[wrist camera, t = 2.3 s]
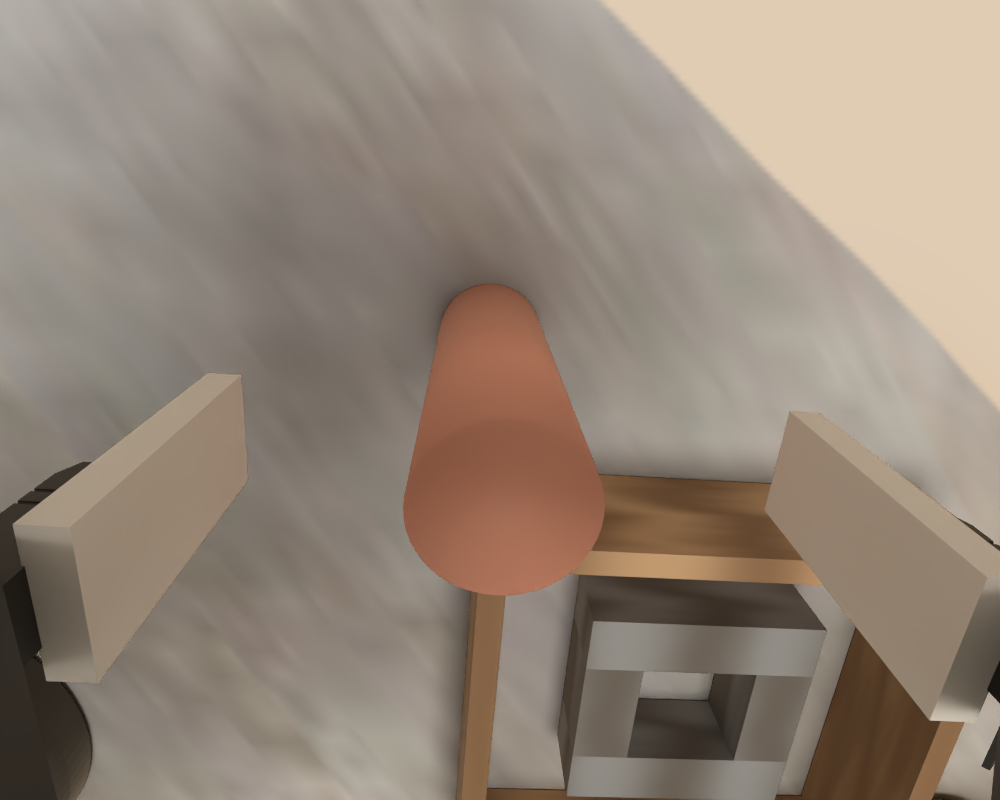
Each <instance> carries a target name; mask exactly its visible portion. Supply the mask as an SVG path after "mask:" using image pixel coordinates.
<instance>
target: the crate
mask: <svg viewBox="0 0 1000 800" xmlns="http://www.w3.org/2000/svg"><path fill="white" fill-rule="evenodd" d="M599 477H600V479H601V482H602V486H603V491H604V498H605V511H604V519H603V524H602V528H601V531H600V533H599V536H598V539H597V540H596V542H595V544H594V546H593V548H592V549H591V551H590V552H589V553H588V555H587V556H586V558H585V559H584V560H583V561H582V562H581V563H580V564H579V565H578V566H577V567H576V568H575V569H574V570H572V571H571V572H570V573H569V574H577V575H580V578H579V585H578V592H577V599H576V607H575V614H574V621H573V628H572V635H571V642H570V649H569V656H568V663H567V670H566V677H565V684H564V691H563V698H562V705H561V713H560V720H559V727H558V741H559V748H560V755H561V762H562V769H563V776H564V783H565V790H527V789H487V784H488V773H489V763H490V752H491V742H492V731H493V721H494V710H495V700H496V689H497V679H498V668H499V658H500V647H501V637H502V627H503V616H504V606H505V595H487V594H481V593H476V592H472V591H471V600H470V614H469V627H468V641H467V655H466V668H465V682H464V696H463V709H462V723H461V737H460V750H459V764H458V778H457V791H456V800H932V798H933V795H934V793H935V791H936V788H937V786H938V784H939V781H940V779H941V776H942V774H943V772H944V769H945V767H946V765H947V762H948V760H949V758H950V755H951V753H952V751H953V748H954V746H955V744H956V741H957V739H958V736H959V734H960V732H961V729H962V727H963V725H964V722H953V721H930V720H929V719H928V718H927V717H926V715H925V714H924V713H923V712H922V710H921V709H920V708H919V706H918V705H917V704H916V703H915V701H914V700H913V699H912V698H911V696H910V695H909V694H908V692H907V691H906V690H905V689H904V687H903V686H902V685H901V683H900V682H899V681H898V680H897V678H896V677H895V676H894V675H893V673H892V672H891V671H890V669H889V668H888V667H887V666H886V664H885V663H884V662H883V661H882V659H881V658H880V657H879V655H878V654H877V653H876V652H875V650H874V649H873V648H872V647H871V645H870V644H869V643H868V641H867V640H866V639H865V638H864V636H863V635H862V634H861V633H860V631H859V630H858V629H857V627H856V630H855V633H854V636H853V639H852V642H851V645H850V648H849V651H848V654H847V657H846V660H845V663H844V666H843V669H842V673H841V676H840V679H839V682H838V685H837V688H836V691H835V694H834V697H833V700H832V703H831V706H830V709H829V712H828V715H827V718H826V721H825V724H824V727H823V731H822V734H821V737H820V740H819V743H818V746H817V749H816V752H815V755H814V758H813V761H812V764H811V767H810V770H809V773H808V776H807V779H806V782H805V785H804V789H803V792H802V795H801V796H782V795H776V794H777V791H778V787H779V784H780V781H781V778H782V774H783V771H784V768H785V765H786V761H787V758H788V755H789V752H790V749H791V745H792V742H793V739H794V736H795V732H796V729H797V726H798V723H799V719H800V716H801V713H802V710H803V706H804V703H805V700H806V697H807V694H808V690H809V687H810V684H811V681H812V677H813V674H814V671H815V668H816V664H817V661H818V658H819V655H820V651H821V648H822V645H823V642H824V638H825V635H826V632H827V630H826V628H825V627H824V626H823V624H822V623H821V622H820V620H819V619H818V618H817V616H816V615H815V614H814V612H813V611H812V610H811V608H810V607H809V606H808V604H807V603H806V602H805V600H804V599H803V598H802V596H801V595H800V594H799V592H798V591H797V590H796V588H795V587H794V586H793V584H806V585H823V584H822V583H821V582H820V580H819V579H818V578H817V576H816V575H815V574H814V573H813V571H812V570H811V569H810V568H809V566H808V565H807V564H806V562H805V561H804V560H803V559H802V557H801V556H800V555H799V554H798V552H797V551H796V550H795V548H794V547H793V546H792V545H791V543H790V542H789V541H788V540H787V538H786V537H785V536H784V534H783V533H782V532H781V531H780V529H779V528H778V527H777V525H776V524H775V523H774V522H773V520H772V519H771V518H770V517H769V515H768V514H767V513H766V511H765V507H766V503H767V499H768V495H769V491H770V487H771V484H766V483H748V482H729V481H710V480H691V479H672V478H654V477H635V476H616V475H599ZM932 500H933V499H932ZM936 503H937V502H936ZM940 506H941V505H940ZM944 509H945V508H944ZM945 510H946V509H945ZM948 512H949V511H948ZM949 513H950V512H949ZM951 514H952V513H951ZM952 515H953V514H952ZM953 516H954V515H953ZM955 517H956V516H955ZM644 671H656V672H685V673H713V674H715V675H714V679H713V683H712V687H711V691H710V695H709V699H708V701H692V700H661V699H638V697H639V692H640V687H641V682H642V677H643V672H644Z"/></svg>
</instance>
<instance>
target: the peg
mask: <svg viewBox="0 0 1000 800" xmlns="http://www.w3.org/2000/svg"><path fill="white" fill-rule="evenodd" d="M403 510H404V522H405V527H406V531H407V534H408V536H409V539H410V542H411V543H412V545H413V547H414V549H415V551H416V552H417V554H418V555H419V556H420V558H421V559H422V561H423V562H424V563H425V564H426V565H427V566H428V567H429V568H430V569H431V570H432V571H434V572H435V573H436V574H437V575H439V576H440V577H442V578H443V579H445V580H446V581H448V582H450V583H452V584H454V585H456V586H458V587H460V588H463V589H466V590H469V591H472V592H476V593H481V594H487V595H516V594H523V593H527V592H532V591H535V590H538V589H541V588H544V587H546V586H548V585H551V584H553V583H555V582H557V581H558V580H560V579H561V578H563V577H565V576H566V575H568V574H569V573H570V572H571V571H572V570H574V569H575V568H576V567H577V566H578V565H579V564H580V563H581V562H582V561H583V560H584V559H585V558H586V556H587V555H588V553H589V552H590V551H591V549H592V548H593V546H594V544H595V542H596V540H597V539H598V536H599V533H600V531H601V528H602V524H603V519H604V511H605V498H604V491H603V486H602V482H601V479H600V477H599V474H598V472H597V469H596V467H595V464H594V461H593V459H592V456H591V454H590V451H589V449H588V446H587V443H586V441H585V438H584V436H583V433H582V431H581V428H580V425H579V423H578V420H577V418H576V415H575V413H574V410H573V408H572V405H571V402H570V400H569V397H568V395H567V392H566V390H565V387H564V384H563V382H562V379H561V377H560V374H559V372H558V369H557V367H556V364H555V361H554V359H553V356H552V354H551V351H550V349H549V346H548V343H547V341H546V338H545V336H544V333H543V331H542V328H541V326H540V323H539V320H538V318H537V315H536V313H535V311H534V309H533V307H532V306H531V304H530V303H529V302H528V300H527V299H526V298H525V297H524V296H522V295H521V294H520V293H518V292H517V291H515V290H513V289H511V288H509V287H506V286H503V285H498V284H482V285H478V286H474V287H471V288H469V289H467V290H465V291H463V292H462V293H460V294H459V295H458V296H456V297H455V298H454V299H453V300H452V302H451V303H450V304H449V306H448V307H447V309H446V311H445V313H444V315H443V318H442V321H441V325H440V330H439V335H438V340H437V344H436V349H435V354H434V358H433V363H432V368H431V373H430V377H429V382H428V387H427V391H426V396H425V401H424V406H423V410H422V415H421V420H420V424H419V429H418V434H417V439H416V443H415V448H414V453H413V457H412V462H411V467H410V472H409V476H408V481H407V486H406V490H405V495H404V505H403Z"/></svg>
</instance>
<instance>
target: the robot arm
mask: <svg viewBox="0 0 1000 800" xmlns="http://www.w3.org/2000/svg"><path fill="white" fill-rule="evenodd" d="M247 481H248V469H247V454H246V440H245V425H244V410H243V395H242V380H241V375H233V374H218V373H207V374H206V375H204V376H203V377H202V378H201V379H199V380H198V381H197V382H195V383H194V384H193V385H192V386H190V387H189V388H188V389H186V390H185V391H184V392H182V393H181V394H180V395H179V396H177V397H176V398H175V399H173V400H172V401H171V402H170V403H168V404H167V405H166V406H164V407H163V408H162V409H161V410H159V411H158V412H157V413H155V414H154V415H153V416H151V417H150V418H149V419H148V420H146V421H145V422H144V423H142V424H141V425H140V426H139V427H137V428H136V429H135V430H133V431H132V432H131V433H130V434H128V435H127V436H126V437H124V438H123V439H122V440H120V441H119V442H118V443H117V444H115V445H114V446H113V447H111V448H110V449H109V450H108V451H106V452H105V453H104V454H102V455H101V456H100V457H99V458H97V459H96V460H95V461H93V462H82V463H79V464H77V465H74V466H72V467H70V468H67V469H65V470H62V471H60V472H58V473H55V474H54V475H52V476H51V477H50V478H48V479H47V480H45V481H44V482H43V483H41V484H40V485H39V486H37V487H36V488H35V490H34V491H30V492H29V493H28V494H26V495H25V496H24V497H22V498H21V499H20V500H18V504H13V505H11V506H10V507H9V508H7V509H6V510H5V511H3V512H2V513H0V800H76V799H77V797H78V795H79V794H80V792H81V790H82V789H83V787H84V784H85V782H86V780H87V777H88V773H89V769H90V763H91V746H90V739H89V734H88V730H87V727H86V724H85V722H84V719H83V717H82V715H81V713H80V711H79V709H78V707H77V705H76V704H75V702H74V701H73V699H72V697H71V696H70V695H69V693H68V692H67V691H66V689H65V688H64V687H63V686H62V684H61V683H60V682H77V683H99V681H100V680H101V679H102V677H103V676H104V675H105V673H106V672H107V671H108V669H109V668H110V666H111V665H112V664H113V662H114V661H115V660H116V658H117V657H118V656H119V654H120V653H121V652H122V650H123V649H124V648H125V646H126V645H127V643H128V642H129V641H130V639H131V638H132V637H133V635H134V634H135V633H136V631H137V630H138V629H139V627H140V626H141V624H142V623H143V622H144V620H145V619H146V618H147V616H148V615H149V614H150V612H151V611H152V610H153V608H154V607H155V606H156V604H157V603H158V601H159V600H160V599H161V597H162V596H163V595H164V593H165V592H166V591H167V589H168V588H169V587H170V585H171V584H172V583H173V581H174V580H175V578H176V577H177V576H178V574H179V573H180V572H181V570H182V569H183V568H184V566H185V565H186V564H187V562H188V561H189V560H190V558H191V557H192V555H193V554H194V553H195V551H196V550H197V549H198V547H199V546H200V545H201V543H202V542H203V541H204V539H205V538H206V536H207V535H208V534H209V532H210V531H211V530H212V528H213V527H214V526H215V524H216V523H217V522H218V520H219V519H220V518H221V516H222V515H223V513H224V512H225V511H226V509H227V508H228V507H229V505H230V504H231V503H232V501H233V500H234V499H235V497H236V496H237V495H238V493H239V492H240V490H241V489H242V488H243V486H244V485H245V484H246V482H247ZM765 511H766V513H767V514H768V515H769V517H770V518H771V519H772V520H773V522H774V523H775V524H776V525H777V527H778V528H779V529H780V531H781V532H782V533H783V534H784V536H785V537H786V538H787V540H788V541H789V542H790V543H791V545H792V546H793V547H794V548H795V550H796V551H797V552H798V554H799V555H800V556H801V557H802V559H803V560H804V561H805V562H806V564H807V565H808V566H809V568H810V569H811V570H812V571H813V573H814V574H815V575H816V576H817V578H818V579H819V580H820V582H821V583H822V584H823V585H824V587H825V588H826V589H827V590H828V592H829V593H830V594H831V596H832V597H833V598H834V599H835V601H836V602H837V603H838V604H839V606H840V607H841V608H842V610H843V611H844V612H845V613H846V615H847V616H848V617H849V619H850V620H851V621H852V622H853V624H854V625H855V626H856V627H857V629H858V630H859V631H860V633H861V634H862V635H863V636H864V638H865V639H866V640H867V641H868V643H869V644H870V645H871V647H872V648H873V649H874V650H875V652H876V653H877V654H878V655H879V657H880V658H881V659H882V661H883V662H884V663H885V664H886V666H887V667H888V668H889V669H890V671H891V672H892V673H893V675H894V676H895V677H896V678H897V680H898V681H899V682H900V683H901V685H902V686H903V687H904V689H905V690H906V691H907V692H908V694H909V695H910V696H911V698H912V699H913V700H914V701H915V703H916V704H917V705H918V706H919V708H920V709H921V710H922V712H923V713H924V714H925V715H926V717H927V718H928V719H929V720H930V721H953V722H976V720H977V717H978V715H979V713H980V710H981V708H982V706H983V704H984V701H985V699H986V697H987V694H988V692H990V693H991V695H992V696H993V697H994V698H995V699H996V700H997V701H998V702H999V703H1000V546H999V545H996V544H993V541H992V540H991V539H990V538H988V537H987V536H986V535H984V534H983V533H982V532H980V531H979V530H978V529H976V528H975V527H974V526H972V525H970V524H968V523H967V522H965V521H963V520H961V519H959V518H957V517H955V516H953V515H952V514H951V513H949V512H948V511H947V510H945V509H944V508H943V507H942V506H940V505H939V504H938V503H936V502H935V501H934V500H932V499H931V498H930V497H929V496H927V495H926V494H925V493H923V492H922V491H921V490H919V489H918V488H917V487H916V486H914V485H913V484H912V483H910V482H909V481H908V480H907V479H905V478H904V477H903V476H901V475H900V474H899V473H897V472H896V471H895V470H894V469H892V468H891V467H890V466H888V465H887V464H886V463H884V462H883V461H882V460H881V459H879V458H878V457H877V456H875V455H874V454H873V453H871V452H870V451H869V450H868V449H866V448H865V447H864V446H862V445H861V444H860V443H858V442H857V441H856V440H855V439H853V438H852V437H851V436H849V435H848V434H847V433H845V432H844V431H843V430H842V429H840V428H839V427H838V426H836V425H835V424H834V423H832V422H831V421H830V420H829V419H827V418H826V417H825V416H823V415H822V414H821V413H810V412H795V411H789V415H788V419H787V423H786V427H785V431H784V435H783V439H782V443H781V447H780V451H779V455H778V459H777V463H776V467H775V471H774V475H773V479H772V483H771V487H770V491H769V495H768V499H767V503H766V507H765ZM39 650H40V654H41V659H42V663H43V666H42V665H41V664H40V663H39V662H38V661H36V660H35V659H34V658H33V657H34V656H35V655H36V654H37V653H38V651H39ZM994 764H995V766H994V776H993V786H992V797H991V800H1000V727H999V729H998V731H997V733H996V736H995V738H994V740H993V742H992V744H991V746H990V749H989V751H988V753H987V755H986V757H985V760H984V762H983V764H982V767H984V768H986V769H988V770H990V769H991V768H992V767H993V765H994Z"/></svg>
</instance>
